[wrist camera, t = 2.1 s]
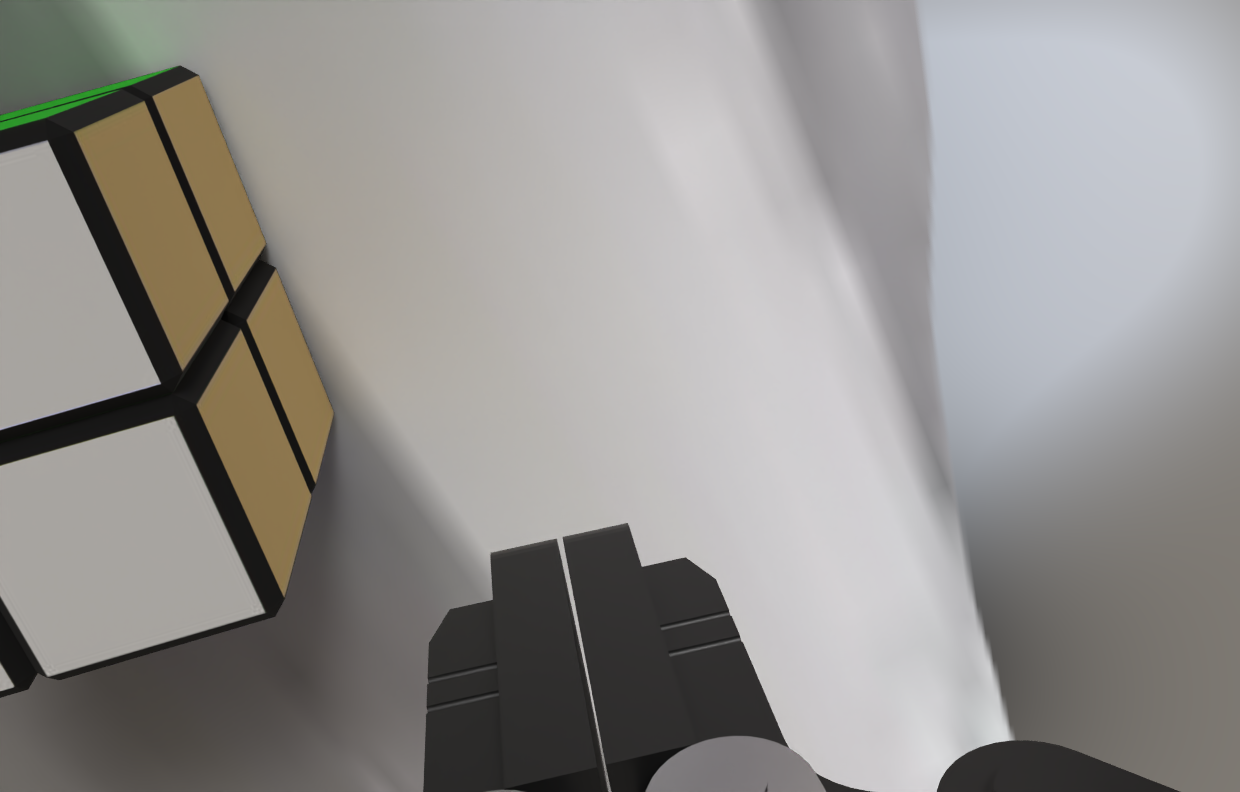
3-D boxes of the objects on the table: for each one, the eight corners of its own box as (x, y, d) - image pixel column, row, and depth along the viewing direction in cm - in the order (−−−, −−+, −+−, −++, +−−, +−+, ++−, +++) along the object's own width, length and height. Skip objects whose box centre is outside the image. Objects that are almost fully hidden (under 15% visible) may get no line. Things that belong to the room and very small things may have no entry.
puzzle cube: (-8, 520, 29) (-217, 771, 20) (-208, 172, 25) (-581, 288, 16) (340, 419, 30) (290, 621, 21) (197, 60, 26) (55, 113, 17)
